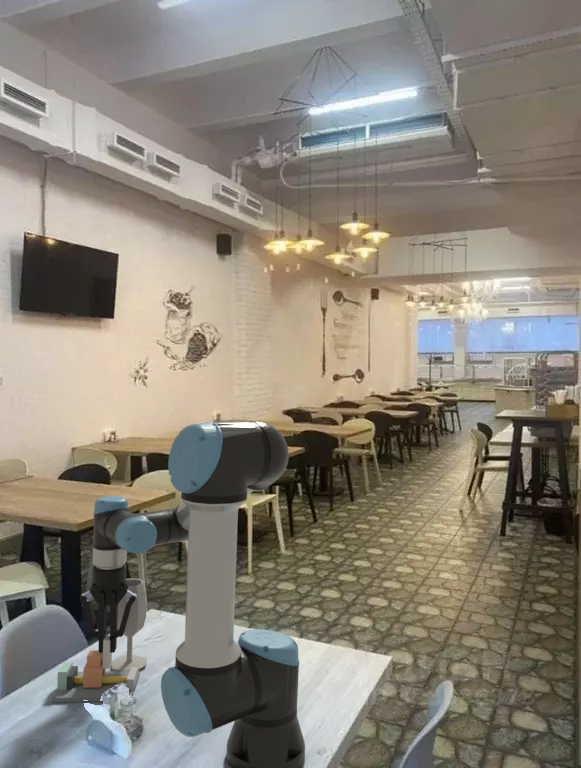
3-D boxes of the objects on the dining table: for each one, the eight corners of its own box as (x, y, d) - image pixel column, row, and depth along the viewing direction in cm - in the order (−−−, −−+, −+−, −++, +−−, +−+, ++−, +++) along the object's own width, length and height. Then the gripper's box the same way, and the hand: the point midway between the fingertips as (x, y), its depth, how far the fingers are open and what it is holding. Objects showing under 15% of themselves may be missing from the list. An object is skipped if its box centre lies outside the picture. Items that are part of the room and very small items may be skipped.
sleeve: (101, 687, 141) (101, 657, 141) (83, 687, 141) (83, 657, 141) (105, 677, 146) (106, 648, 146) (87, 677, 146) (88, 648, 146)
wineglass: (151, 659, 159) (154, 577, 158) (140, 675, 150) (142, 589, 150) (118, 656, 160) (120, 575, 159) (105, 673, 151) (107, 586, 151)
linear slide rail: (131, 701, 138) (131, 678, 138) (52, 702, 137) (53, 679, 137) (139, 675, 150) (140, 654, 150) (67, 676, 149) (67, 655, 149)
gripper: (140, 559, 148) (138, 658, 148) (84, 559, 147) (82, 658, 147) (135, 569, 140) (132, 673, 141) (76, 569, 139) (73, 673, 140)
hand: (107, 665), depth 144 cm, fingers closed
